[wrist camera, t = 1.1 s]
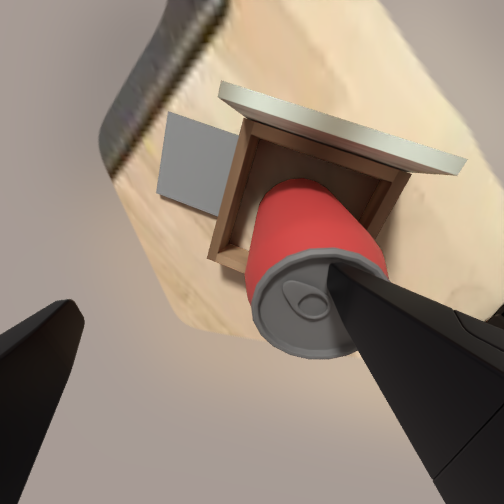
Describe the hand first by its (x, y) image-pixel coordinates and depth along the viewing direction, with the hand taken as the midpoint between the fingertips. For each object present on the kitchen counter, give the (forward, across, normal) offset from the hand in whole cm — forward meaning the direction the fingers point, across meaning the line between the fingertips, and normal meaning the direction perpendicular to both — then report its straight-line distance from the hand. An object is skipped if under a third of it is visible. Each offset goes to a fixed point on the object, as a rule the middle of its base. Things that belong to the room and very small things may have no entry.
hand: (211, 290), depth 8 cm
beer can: (+12, -7, +3) cm, 14 cm away
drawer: (+12, -7, +3) cm, 14 cm away
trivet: (+16, +1, -1) cm, 16 cm away
